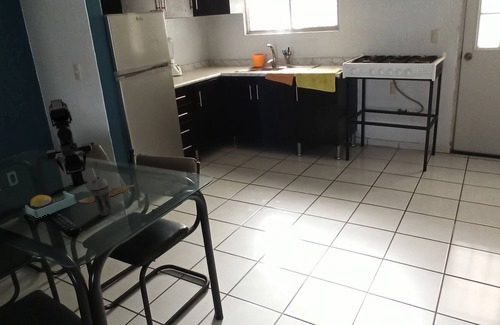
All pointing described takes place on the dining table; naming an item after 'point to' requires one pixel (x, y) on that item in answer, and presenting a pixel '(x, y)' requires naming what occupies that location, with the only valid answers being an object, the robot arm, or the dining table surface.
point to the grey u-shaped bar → (53, 206)
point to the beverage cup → (101, 194)
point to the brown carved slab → (111, 193)
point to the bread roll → (40, 200)
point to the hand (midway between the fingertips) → (74, 168)
